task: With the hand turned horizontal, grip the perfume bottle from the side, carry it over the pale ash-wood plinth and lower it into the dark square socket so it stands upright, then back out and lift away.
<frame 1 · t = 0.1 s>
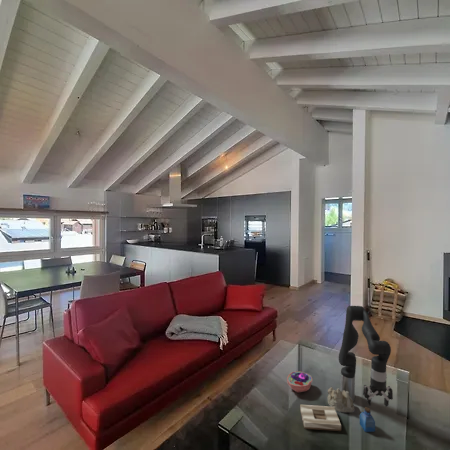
hand: (377, 405, 144), 29 cm above the table, tool pointing down, fingers open, 8 cm apart
cell model: (299, 389, 200), on the table
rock: (340, 404, 184), on the table, touching arm
socket plinth: (319, 420, 171), on the table
perfume bottle: (367, 427, 165), on the table
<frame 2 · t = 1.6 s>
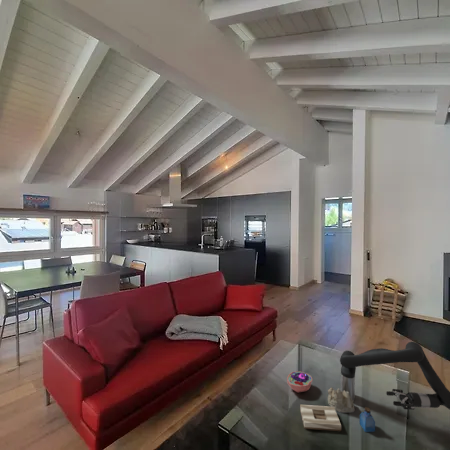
hand: (390, 398, 162), 20 cm above the table, tool horizontal, fingers open, 8 cm apart
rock: (340, 404, 184), on the table
everything else where it was.
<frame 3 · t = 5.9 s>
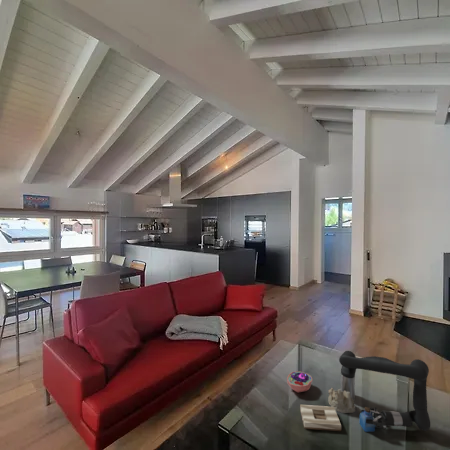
hand: (363, 416, 164), 7 cm above the table, tool horizontal, fingers closed on perfume bottle, 7 cm apart
perfume bottle: (367, 427, 165), on the table, touching gripper
everything else where it was.
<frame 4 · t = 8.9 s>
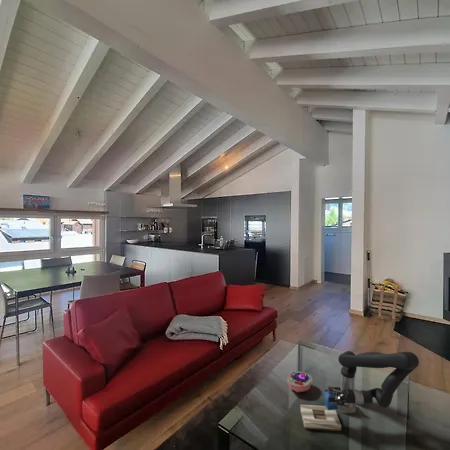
hand: (326, 395, 168), 18 cm above the table, tool horizontal, fingers closed on perfume bottle, 7 cm apart
perfume bottle: (330, 406, 168), point 11 cm above the table, touching gripper
everything else where it was.
when the fingers open (9 cm above the table, at t = 12.1 s): perfume bottle drops 1 cm, resting on socket plinth.
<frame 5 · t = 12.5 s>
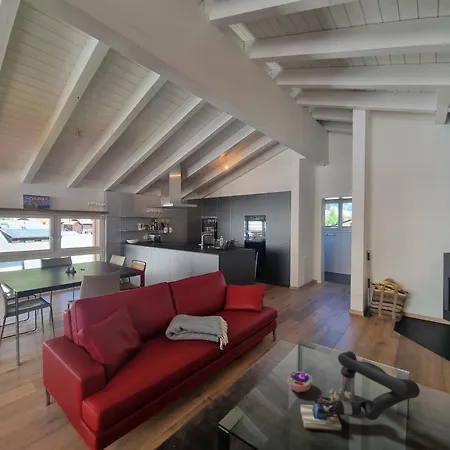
hand: (316, 406, 170), 10 cm above the table, tool horizontal, fingers open, 8 cm apart
perfume bottle: (319, 418, 171), point 1 cm above the table, touching socket plinth
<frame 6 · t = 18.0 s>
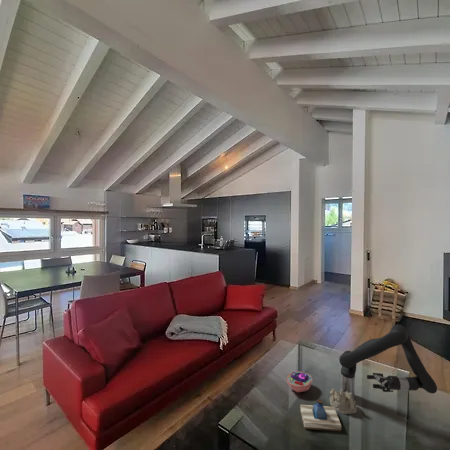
hand: (370, 381, 163), 30 cm above the table, tool horizontal, fingers open, 8 cm apart
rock: (342, 405, 183), on the table, touching arm
everything else where it was.
at the end: perfume bottle 0.1 cm off-centre on the socket plinth, point 0.8 cm above the socket plinth's base; perfume bottle tilted 0°; the gripper is holding nothing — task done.
